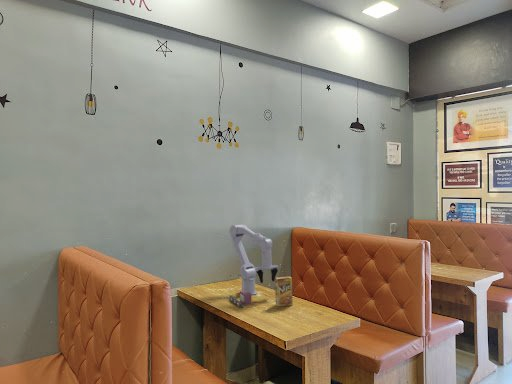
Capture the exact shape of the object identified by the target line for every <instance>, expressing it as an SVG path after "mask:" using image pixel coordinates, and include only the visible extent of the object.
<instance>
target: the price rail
mask: <svg viewBox="0 0 512 384" xmlns="http://www.w3.org/2000/svg"><path fill="white" fill-rule="evenodd" d="M229 301H231V302H232V303H234V304H235V305H236V306H238V308H240V309H244V304H243V303H241V302H240V299H237V298H235V296H233V295H229Z"/></svg>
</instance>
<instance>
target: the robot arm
mask: <svg viewBox="0 0 512 384" xmlns="http://www.w3.org/2000/svg"><path fill="white" fill-rule="evenodd" d="M228 231H229V232H228V233H229V235H230V237H231V242H232V244H233V247H234V250H235V252H236V255H237V257H238V260H239V262H240V265H241V266H240V268H239V272H240V277H241V279H242V280H241V291H245V290H246V291H248V292H250V293H251V296H252V295H258V294H259V293H258V292H257V291H256V278H257V276H258V278H259V282H260V283H261V284H263V283H264V278H263V277H264V271H268V270H269V271H270V273H271V281H272V282H274V283H275V278H276V276H277V273H278V271H279V270H278V269H279V265H278V264H274V265H273V263H272V261H273V259H272V248H273V246H274V241H273V239H271V238H267V237H266V236H264V235H262V234H261V233H260V232H254V231H252V230H251V229H250V228H249V227H248V226H247V225H245V224H243V223H241V224H232V225H231V226H230V227H229V230H228ZM244 235H246V236H247V237H249V238H251V239H252V242H254V243H255V244H257V245H259V248H260V251H261V266H257V267H255V266H254V264H253V263H251V262H250V261H249V258H248V255H247V252H246V249H245V247H244V245H243V241H242V238H244Z"/></svg>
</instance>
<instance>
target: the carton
mask: <svg viewBox="0 0 512 384" xmlns="http://www.w3.org/2000/svg"><path fill="white" fill-rule="evenodd" d="M239 301H240V302H241V303H243V306H249V305H252V304H253V303H252V302H253V301H252V295H251V293H250V292H248V291H246V290H245V291H242V290H239Z"/></svg>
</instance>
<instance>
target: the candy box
mask: <svg viewBox="0 0 512 384" xmlns="http://www.w3.org/2000/svg"><path fill="white" fill-rule="evenodd" d="M274 289H275V290H274V291H275V292H274V293H275V296H274V297H275V305H276V307H285V306H293V301H294V299H293V278H292V277H291V276H289V275H288V276H279V277H275V280H274Z"/></svg>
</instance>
